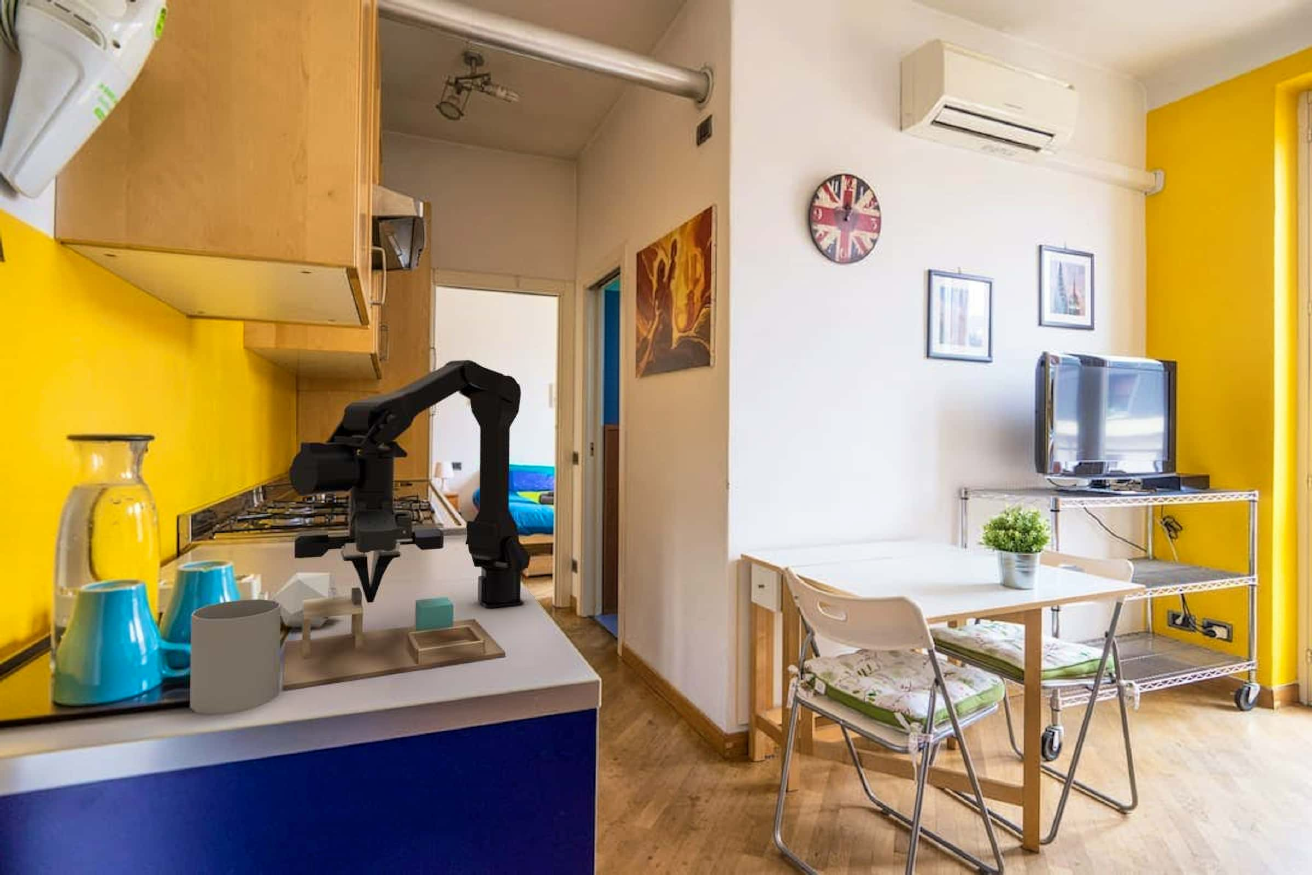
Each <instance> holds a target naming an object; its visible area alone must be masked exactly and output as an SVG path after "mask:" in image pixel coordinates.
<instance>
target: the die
mask: <svg viewBox="0 0 1312 875" xmlns="http://www.w3.org/2000/svg"><path fill="white" fill-rule="evenodd" d="M330 597H341V596H340V594H339V592H338V590H337V587H336V584H335V582H334V580H333V577H332V575H331V572H296V573H295V574H294V575H293V576H292V577H291V578H290V579H289V580H288V581H287V582H286V583H285V584H284V585H283V586H282V587H281V588H280V589H279V590H278V592H276V593H275V594H274V595H273V597H272V599H273V600H274V601H276V602H279V603H281V611H280V618H282V621H283V623H284V626H285V625H291V626H292V627H291V628H302V618H303V600H310V599H320V598H330ZM328 619H329V617H322V618H313V619H311V620H310V629H311V628H321V627H322V626H323V624H324V623H325V622H326V621H327V620H328Z"/></svg>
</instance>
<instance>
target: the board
mask: <svg viewBox="0 0 1312 875" xmlns="http://www.w3.org/2000/svg"><path fill="white" fill-rule="evenodd" d="M283 654H284V656H283V682H282V687H283V688H282V691H283V692H284V691H289V690H296V689H303V688H308V687H309V688H310V687H316V686H322V685H328V684H329V685H330V684H335V683H341V682H342V683H343V682H348V681H355V680H361V679H367V678H368V679H369V678H374V677H375V678H376V677H381V676H388V675H394V674H401V673H406V672H407V673H408V672H412V671H413V672H414V671H418V670H419V671H420V670H426V669H432V668H440V667H445V666H446V667H447V666H452V665H460V664H466V663H472V662H478V661H479V662H481V661H484V660H485V661H486V660H492V659H497V658H499V659H500V658H505V657H506V651H505V650H504V649H503V647H501V645H499V644H498V642H497V641H496V640H495V639H494V638H493V637H492V636H491V635H490V634H489V633H488V632H487V631H486V630H485V628H484V627H482V625H480V623H479V622H478V621H477V620H476V619H475V618H469V619H463V620H462V619H461V620H455V621H454V620H453V627H449V628H441V629H434V630H426V631H418V632H416V631H415V625H413V626H406V627H398V628H397V627H396V628H395V627H394V628H388V629H379V630H373V631H372V630H371V631H363V639H362V650H361V651H356V650H355V636H353V637H352V636H351V633H347V634H339V635H331V636H323V637H322V636H321V637H314V638H310V657H309V658H303V643H302V639H296V640H290V641H284V653H283Z"/></svg>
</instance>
